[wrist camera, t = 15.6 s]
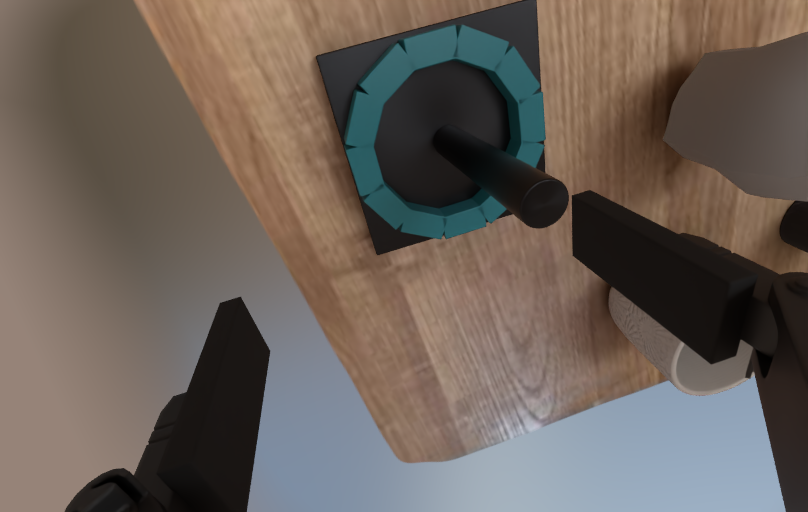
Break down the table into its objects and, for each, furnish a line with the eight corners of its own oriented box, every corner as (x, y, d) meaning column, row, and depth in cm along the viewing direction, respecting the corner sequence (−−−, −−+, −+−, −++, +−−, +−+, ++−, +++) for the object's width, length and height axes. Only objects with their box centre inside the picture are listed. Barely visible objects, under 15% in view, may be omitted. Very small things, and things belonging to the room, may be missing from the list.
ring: (377, 249, 34) (380, 260, 32) (317, 62, 27) (317, 63, 25) (538, 198, 35) (550, 206, 33) (523, 3, 27) (537, 0, 26)
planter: (691, 210, 41) (805, 259, 31) (699, 294, 47) (797, 356, 37) (584, 268, 41) (663, 332, 32) (606, 343, 47) (679, 415, 38)
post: (374, 248, 35) (414, 380, 21) (315, 55, 28) (314, 58, 13) (539, 198, 36) (683, 292, 22) (526, -1, 29) (737, -56, 14)
